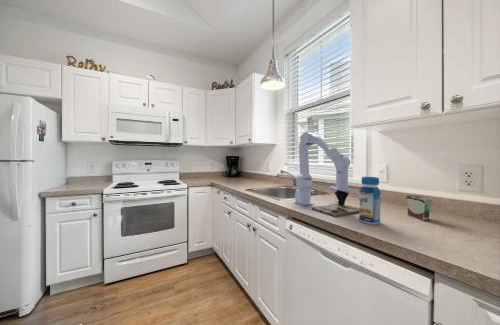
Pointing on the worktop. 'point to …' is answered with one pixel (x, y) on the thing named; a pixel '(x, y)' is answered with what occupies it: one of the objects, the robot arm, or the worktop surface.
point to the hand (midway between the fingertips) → (341, 205)
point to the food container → (418, 207)
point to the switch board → (339, 212)
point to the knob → (333, 205)
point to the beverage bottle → (370, 201)
